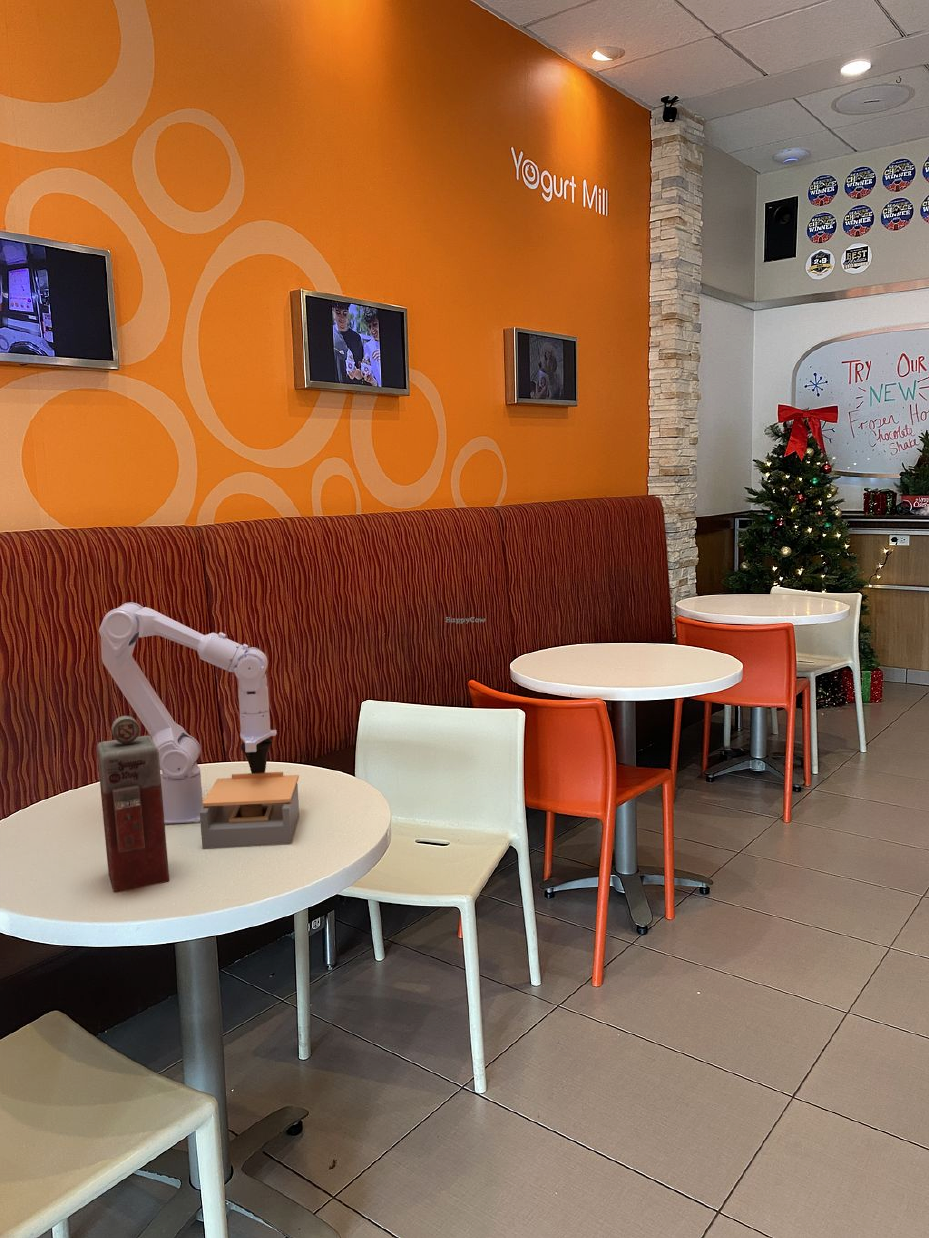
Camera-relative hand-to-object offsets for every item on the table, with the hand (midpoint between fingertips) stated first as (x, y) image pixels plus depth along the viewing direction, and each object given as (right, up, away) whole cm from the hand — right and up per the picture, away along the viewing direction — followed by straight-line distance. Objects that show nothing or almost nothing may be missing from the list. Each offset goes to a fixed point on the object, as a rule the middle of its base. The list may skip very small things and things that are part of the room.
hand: (258, 776), depth 187 cm
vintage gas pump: (-14, -13, -29) cm, 34 cm away
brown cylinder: (+1, -9, -9) cm, 13 cm away
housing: (+1, -9, -9) cm, 13 cm away
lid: (+1, -2, -8) cm, 8 cm away
